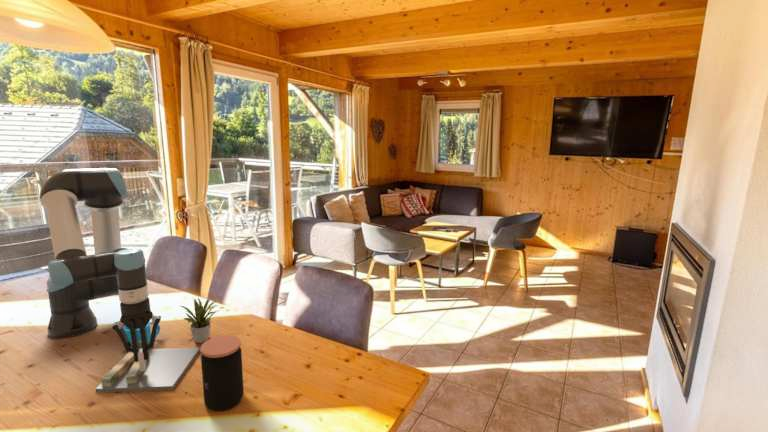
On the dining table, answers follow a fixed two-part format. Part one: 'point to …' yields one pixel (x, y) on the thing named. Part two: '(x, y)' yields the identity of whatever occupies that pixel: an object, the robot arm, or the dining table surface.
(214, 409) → the coffee jar
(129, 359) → the tongs base
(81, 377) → the dining table surface
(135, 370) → the bar
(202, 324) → the house plant
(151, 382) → the board
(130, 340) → the mug
